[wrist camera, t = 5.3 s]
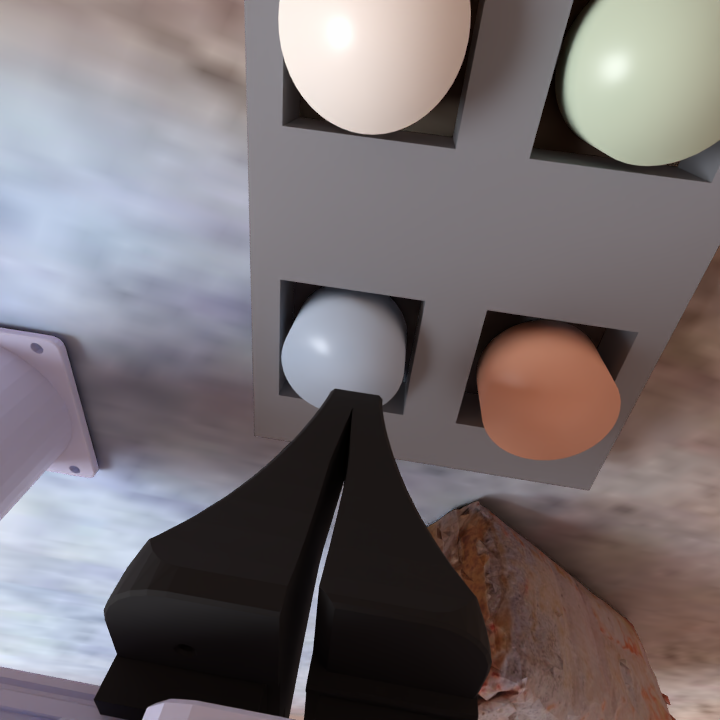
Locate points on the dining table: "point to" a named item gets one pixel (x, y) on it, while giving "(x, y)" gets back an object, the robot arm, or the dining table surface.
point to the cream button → (373, 57)
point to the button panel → (466, 237)
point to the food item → (545, 631)
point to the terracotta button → (545, 391)
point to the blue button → (345, 345)
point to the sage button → (643, 78)
